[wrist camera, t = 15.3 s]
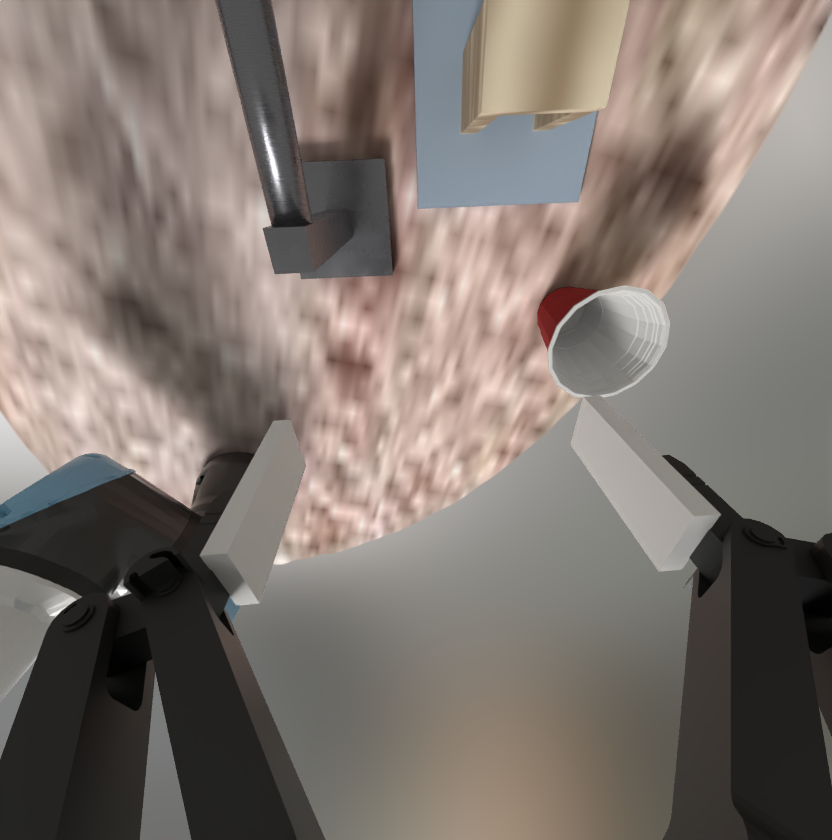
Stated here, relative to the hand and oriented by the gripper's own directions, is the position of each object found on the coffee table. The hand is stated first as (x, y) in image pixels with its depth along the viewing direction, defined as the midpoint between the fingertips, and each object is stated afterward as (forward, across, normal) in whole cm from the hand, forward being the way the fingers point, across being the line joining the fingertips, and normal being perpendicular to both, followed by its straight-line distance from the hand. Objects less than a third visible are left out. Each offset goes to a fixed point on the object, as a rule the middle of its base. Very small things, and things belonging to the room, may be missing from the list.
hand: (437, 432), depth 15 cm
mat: (+28, -9, -16) cm, 33 cm away
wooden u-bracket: (+26, -9, -16) cm, 32 cm away
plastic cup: (+28, -18, +4) cm, 33 cm away
